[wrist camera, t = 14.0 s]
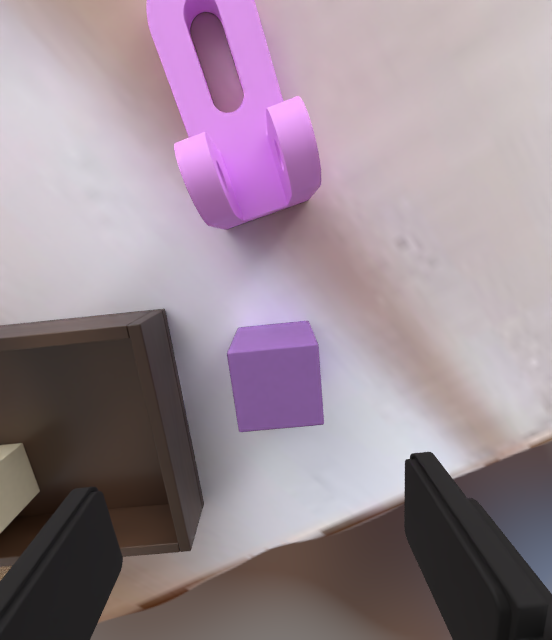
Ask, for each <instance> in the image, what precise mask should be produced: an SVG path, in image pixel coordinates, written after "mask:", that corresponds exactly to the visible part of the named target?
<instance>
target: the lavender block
mask: <svg viewBox="0 0 552 640" xmlns="http://www.w3.org/2000/svg"><path fill="white" fill-rule="evenodd" d="M227 357H228V364H229V370H230V377H231V383H232V390H233V396H234V403H235V409H236V416H237V422H238V429H239V432H247V431H258V430H269V429H280V428H291V427H302V426H313V425H323V424H324V416H323V402H322V388H321V375H320V361H319V347H318V343H317V340H316V338H315V336H314V333H313V331H312V328H311V326H310V323H309V321H300V322H290V323H281V324H271V325H261V326H251V327H241V328H238V329H237V331H236V334H235V336H234V338H233V341H232V343H231V345H230V348H229V350H228V352H227Z"/></svg>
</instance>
